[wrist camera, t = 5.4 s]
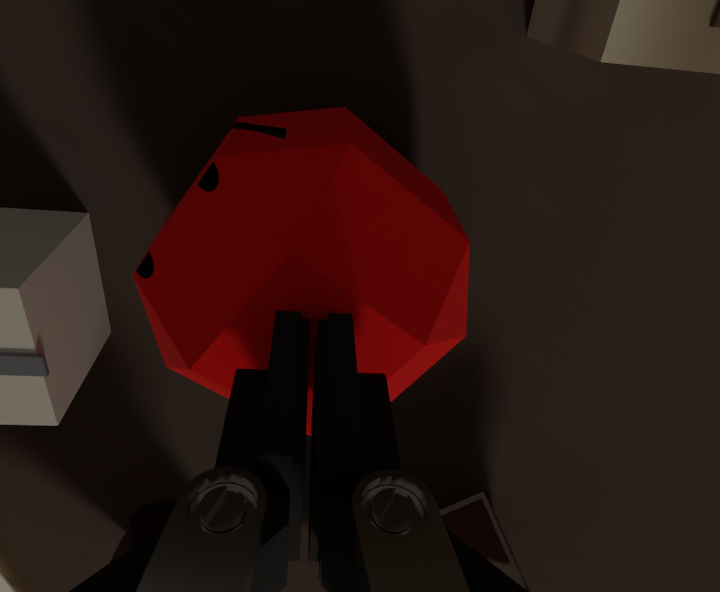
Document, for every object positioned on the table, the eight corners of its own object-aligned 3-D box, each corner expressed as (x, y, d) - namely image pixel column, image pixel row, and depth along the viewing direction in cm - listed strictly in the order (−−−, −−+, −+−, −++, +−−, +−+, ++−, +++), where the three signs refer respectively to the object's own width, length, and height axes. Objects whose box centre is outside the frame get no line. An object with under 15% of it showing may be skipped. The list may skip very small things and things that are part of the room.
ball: (287, 43, 15) (263, 101, 9) (472, 203, 18) (552, 332, 12) (151, 236, 18) (61, 382, 12) (330, 346, 21) (334, 510, 15)
